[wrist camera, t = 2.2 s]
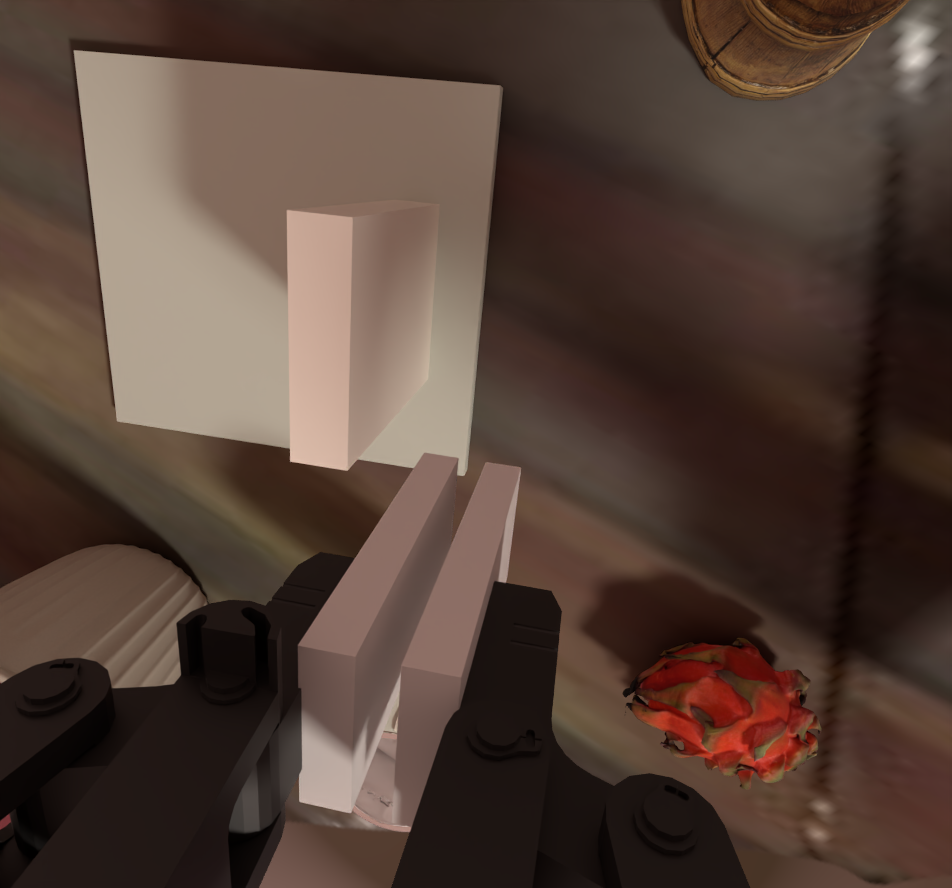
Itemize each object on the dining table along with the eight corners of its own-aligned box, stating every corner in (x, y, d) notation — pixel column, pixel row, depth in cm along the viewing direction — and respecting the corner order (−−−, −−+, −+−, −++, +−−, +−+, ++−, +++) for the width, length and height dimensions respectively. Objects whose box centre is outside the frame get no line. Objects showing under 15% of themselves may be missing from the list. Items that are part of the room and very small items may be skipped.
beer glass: (386, 601, 49) (300, 768, 35) (455, 550, 46) (392, 708, 32) (452, 666, 50) (394, 854, 36) (522, 620, 47) (489, 802, 33)
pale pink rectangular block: (439, 204, 37) (352, 217, 24) (427, 379, 41) (347, 470, 28) (390, 199, 37) (280, 209, 25) (384, 372, 41) (284, 460, 28)
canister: (133, 459, 48) (-185, 648, 29) (303, 640, 51) (121, 920, 32) (1, 578, 54) (-331, 798, 35) (160, 732, 58) (-64, 1012, 38)
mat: (503, 87, 35) (500, 85, 34) (467, 469, 44) (464, 475, 43) (86, 53, 38) (73, 50, 37) (126, 416, 47) (117, 421, 46)
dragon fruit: (808, 680, 47) (633, 635, 50) (848, 642, 40) (641, 593, 43) (801, 814, 42) (610, 756, 46) (845, 798, 35) (615, 731, 39)
